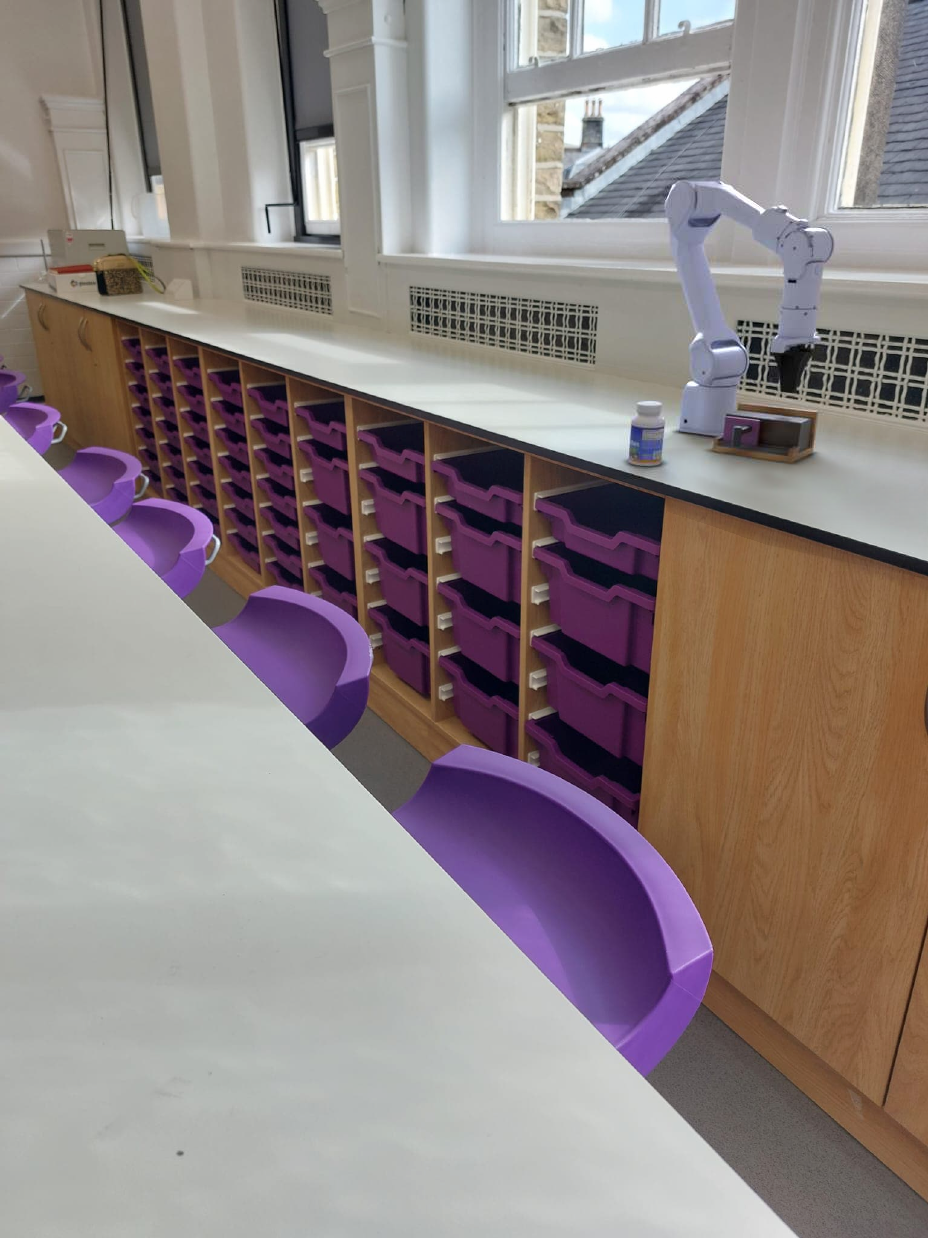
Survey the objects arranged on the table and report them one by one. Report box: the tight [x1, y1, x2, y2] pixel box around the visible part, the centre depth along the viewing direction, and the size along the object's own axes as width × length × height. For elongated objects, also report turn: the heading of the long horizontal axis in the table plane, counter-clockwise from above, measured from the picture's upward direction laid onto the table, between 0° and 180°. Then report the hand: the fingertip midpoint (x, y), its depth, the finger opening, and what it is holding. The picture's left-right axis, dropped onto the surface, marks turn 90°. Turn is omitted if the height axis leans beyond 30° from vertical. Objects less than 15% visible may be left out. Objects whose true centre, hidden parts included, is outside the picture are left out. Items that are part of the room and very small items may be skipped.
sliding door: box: [723, 416, 760, 447], centre depth 146 cm, size 6×6×5 cm
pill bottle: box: [628, 400, 666, 467], centre depth 143 cm, size 5×5×10 cm
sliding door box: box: [712, 401, 820, 464], centre depth 149 cm, size 14×9×7 cm, turn 49°
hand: (788, 391), depth 149 cm, fingers closed
